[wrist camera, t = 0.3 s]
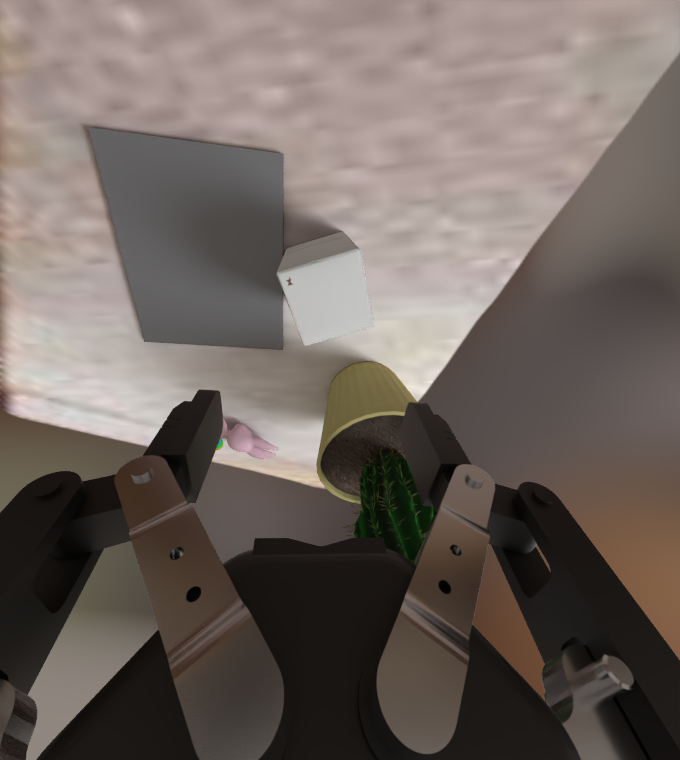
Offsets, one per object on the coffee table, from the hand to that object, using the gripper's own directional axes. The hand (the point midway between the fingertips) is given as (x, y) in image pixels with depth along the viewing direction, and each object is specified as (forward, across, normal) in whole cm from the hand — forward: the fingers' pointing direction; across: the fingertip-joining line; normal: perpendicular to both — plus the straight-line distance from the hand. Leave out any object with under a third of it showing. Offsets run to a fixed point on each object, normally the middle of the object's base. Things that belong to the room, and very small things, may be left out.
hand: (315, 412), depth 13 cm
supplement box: (+28, -1, 0) cm, 29 cm away
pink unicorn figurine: (+29, +11, +26) cm, 40 cm away
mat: (+28, +13, 0) cm, 31 cm away
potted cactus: (+28, -9, +18) cm, 35 cm away
